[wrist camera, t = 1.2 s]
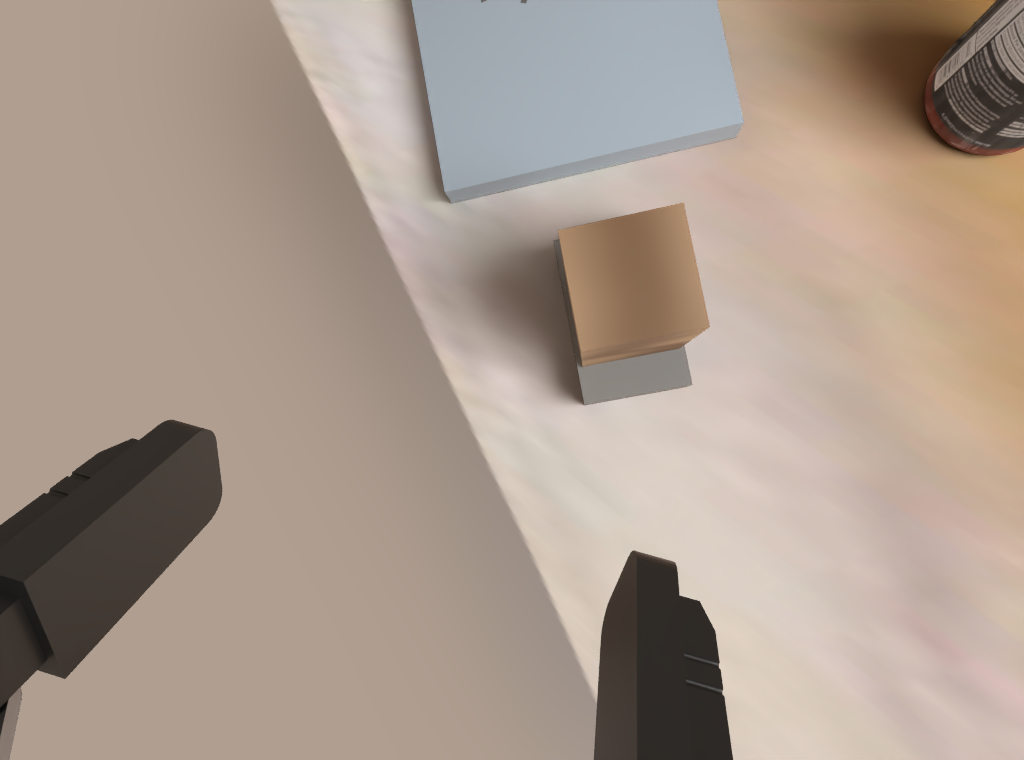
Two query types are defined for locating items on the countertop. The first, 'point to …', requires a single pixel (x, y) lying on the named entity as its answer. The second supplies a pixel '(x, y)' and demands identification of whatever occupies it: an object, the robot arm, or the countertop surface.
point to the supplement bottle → (982, 85)
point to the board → (570, 86)
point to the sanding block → (631, 302)
